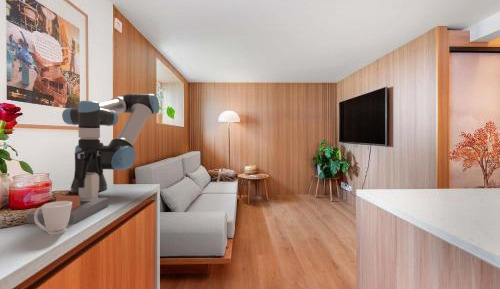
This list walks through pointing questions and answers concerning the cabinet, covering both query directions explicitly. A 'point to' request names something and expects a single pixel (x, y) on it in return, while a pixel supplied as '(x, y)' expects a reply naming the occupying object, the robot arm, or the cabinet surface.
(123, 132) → the robot arm
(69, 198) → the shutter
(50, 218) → the cup
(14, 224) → the cabinet surface
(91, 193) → the plug
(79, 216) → the socket
